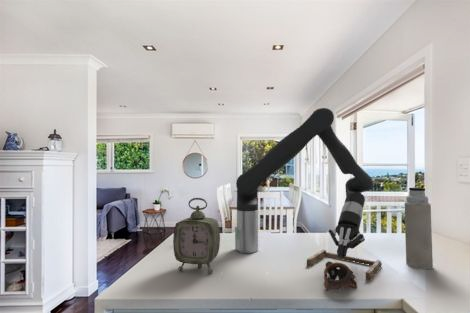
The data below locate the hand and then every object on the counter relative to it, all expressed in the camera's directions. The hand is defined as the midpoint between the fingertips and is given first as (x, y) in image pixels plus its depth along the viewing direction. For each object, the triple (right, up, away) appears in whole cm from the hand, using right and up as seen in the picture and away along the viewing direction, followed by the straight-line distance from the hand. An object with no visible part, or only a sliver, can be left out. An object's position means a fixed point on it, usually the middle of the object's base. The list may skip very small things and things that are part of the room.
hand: (340, 256), depth 95 cm
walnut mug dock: (+2, -5, +2) cm, 6 cm away
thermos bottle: (+30, -5, +4) cm, 30 cm away
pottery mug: (-6, -4, -14) cm, 16 cm away
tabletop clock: (-50, -5, 0) cm, 50 cm away
